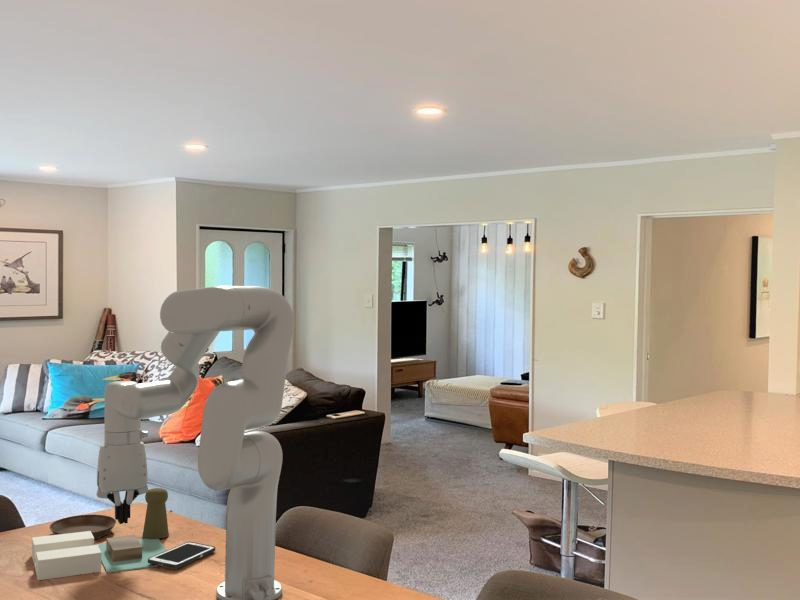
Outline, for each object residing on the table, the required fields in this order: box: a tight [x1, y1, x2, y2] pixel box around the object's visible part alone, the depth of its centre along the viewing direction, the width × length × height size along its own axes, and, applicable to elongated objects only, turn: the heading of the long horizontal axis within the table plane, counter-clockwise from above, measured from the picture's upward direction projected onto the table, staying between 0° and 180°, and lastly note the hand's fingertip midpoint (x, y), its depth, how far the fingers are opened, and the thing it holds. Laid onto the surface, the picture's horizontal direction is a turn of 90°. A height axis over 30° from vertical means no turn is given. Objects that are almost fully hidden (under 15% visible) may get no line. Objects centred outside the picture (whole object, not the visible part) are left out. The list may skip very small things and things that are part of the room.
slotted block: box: [31, 531, 102, 581], centre depth 171 cm, size 16×12×4 cm
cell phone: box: [148, 541, 216, 570], centre depth 176 cm, size 8×15×1 cm, turn 158°
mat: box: [95, 538, 168, 574], centre depth 178 cm, size 19×14×1 cm
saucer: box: [49, 514, 117, 540], centre depth 192 cm, size 15×15×3 cm
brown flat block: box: [105, 534, 142, 562], centre depth 178 cm, size 9×6×2 cm, turn 29°
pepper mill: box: [142, 487, 170, 539], centre depth 191 cm, size 6×6×11 cm
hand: (122, 522), depth 176 cm, fingers closed
